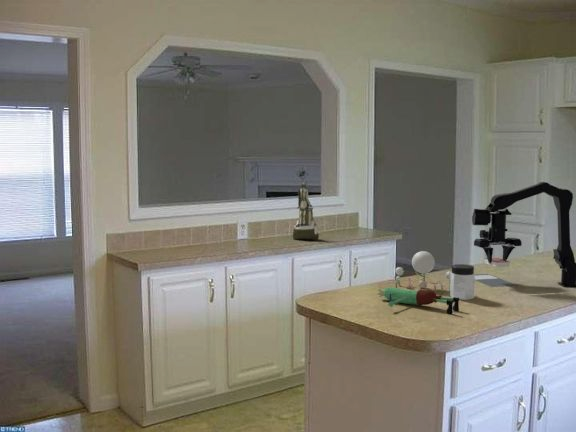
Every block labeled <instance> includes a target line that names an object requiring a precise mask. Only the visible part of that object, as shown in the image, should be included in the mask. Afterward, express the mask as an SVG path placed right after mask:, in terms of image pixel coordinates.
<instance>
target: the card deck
mask: <svg viewBox="0 0 576 432" xmlns="http://www.w3.org/2000/svg"><path fill="white" fill-rule="evenodd" d="M484 264H487V265H489V266H493V267H495V268H500V267H501V268H504V267H510V266H511V265H510V264H511V261H509V260H503V258H500V257H492V262H491V264H490V263H489V262H488V259H487V257H486V258H484Z"/></svg>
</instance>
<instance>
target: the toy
mask: <svg viewBox="0 0 576 432" xmlns="http://www.w3.org/2000/svg"><path fill="white" fill-rule="evenodd" d="M377 291H378V293H377V295H378V297H379V298H381V297H384V298H385V299H386V300H388V301H387V302H389V303H388V306H389V307H390V308H392V307H394V305H395V304H405V305H418V306H425V305H426V306H427V305H430V304H433V303H435V304H436V303H441V304H443V303H444V304H446V306H448V307H447V309H446V310H445V311H446V313H447V314H448V315H452V314H453V312H459V311H460V307H459V303H460V300H459V298H455V297H453V298H452V297H446V296H444V297H443V296H442V295H441V294H440V295H437V293H436V292H435V291H434V290H432V289H428V288H420V289H417V290H416V289H415V290H414V289H413V290H411V289H404V288H398V287H397V288H396V287H393V286H392V287H391V286H388V287H385V288H384V289H383V287H379V288H378V290H377Z"/></svg>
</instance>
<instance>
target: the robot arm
mask: <svg viewBox="0 0 576 432" xmlns="http://www.w3.org/2000/svg"><path fill="white" fill-rule="evenodd" d="M543 193H545V194H546V195H548V196H550V197H552V199H553V203H554V205H555V208H556V211H557V212H556V213H557V237H558V239H557V240H558V242H557V243H558V244H557V247H556V248H553V258H552V259H554V261H555V263H556V264H557V265H558V266H559V269H560V270H561V278H560V282H559V281H558V282H557V284H558V285H560V286H562V287H565V288H566V287H567V288H575V287H576V259H575V255H574V251H573V249H572V246H571V226H570V225H571V224H570V222H571V221H570V211H571V207H572V205H573V201H574V200H573V199H574V195H573V192H572V191H571V190H569V189H567V188H559V187H557V186H554V185H552V184H550V183H548V182H545V181H540V182H539V183H536V184H533V185H530V186H527V187H524V188H521V189H519V190H515V191H512V192H507V193H505V192H504V193H500V194H495V195H493V196H492V197H491V199H490V203H489V204H488V205H487V207H485V209H483V208H481V209H480V208H473V212H472V217H471V224H472V225H473V226H489V224H490V227H489V228H488V230H487V231H486V229H481V230H479V238H475V240H474V241H473V246H475V247H478V248H481V249H483V250H484V253H485V255H486V258H487V259H488V262H489V263H490V264H491V262H492V258H493V254H494V253H493V252H494V247H492V246H495V245H501V247H502V259H503V260H506V261H508V258H509V257H510V255H511V253H512V252H513V250H514V249H516V247H522V244H523V243H522V240H521V239H520V238H516V237H506V233H507V232H508V228H507V216H512V214H513V213H512V212H510V210H509V209H508V208H509V207H510V206H512V205H514V204H515V203H517V202H519V201H522V200H525V199H528V198H531V197H533V196H537V195H540V194H543Z"/></svg>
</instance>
